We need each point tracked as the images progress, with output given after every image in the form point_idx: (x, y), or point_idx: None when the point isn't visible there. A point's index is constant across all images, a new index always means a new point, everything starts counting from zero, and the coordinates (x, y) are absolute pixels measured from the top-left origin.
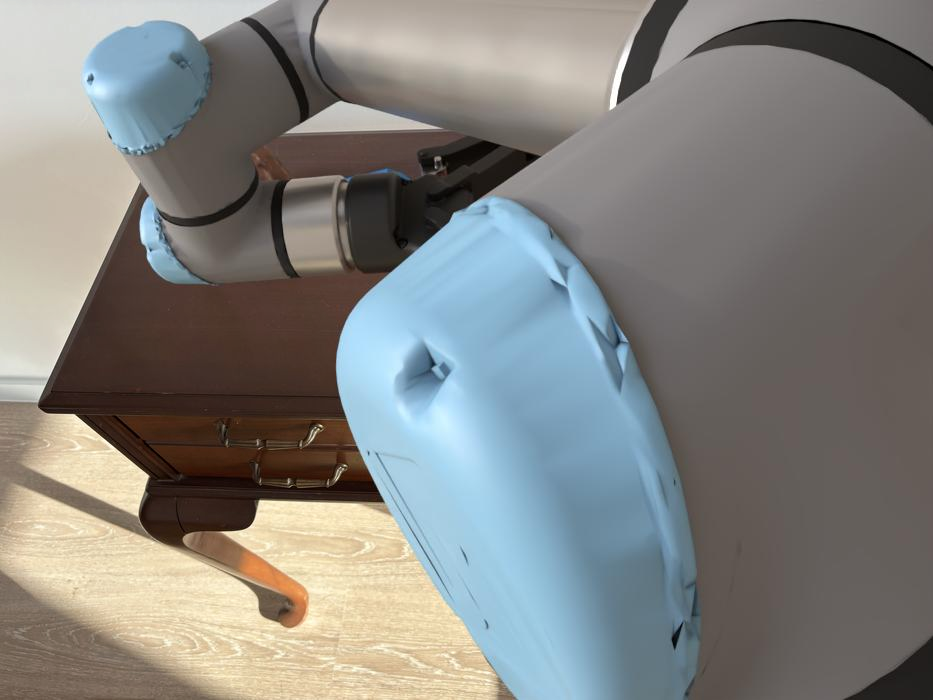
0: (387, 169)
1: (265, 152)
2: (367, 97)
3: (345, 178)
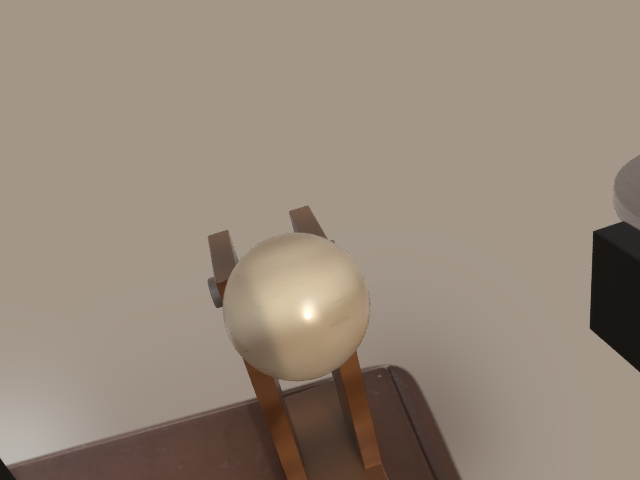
0: None
1: None
2: None
3: None
